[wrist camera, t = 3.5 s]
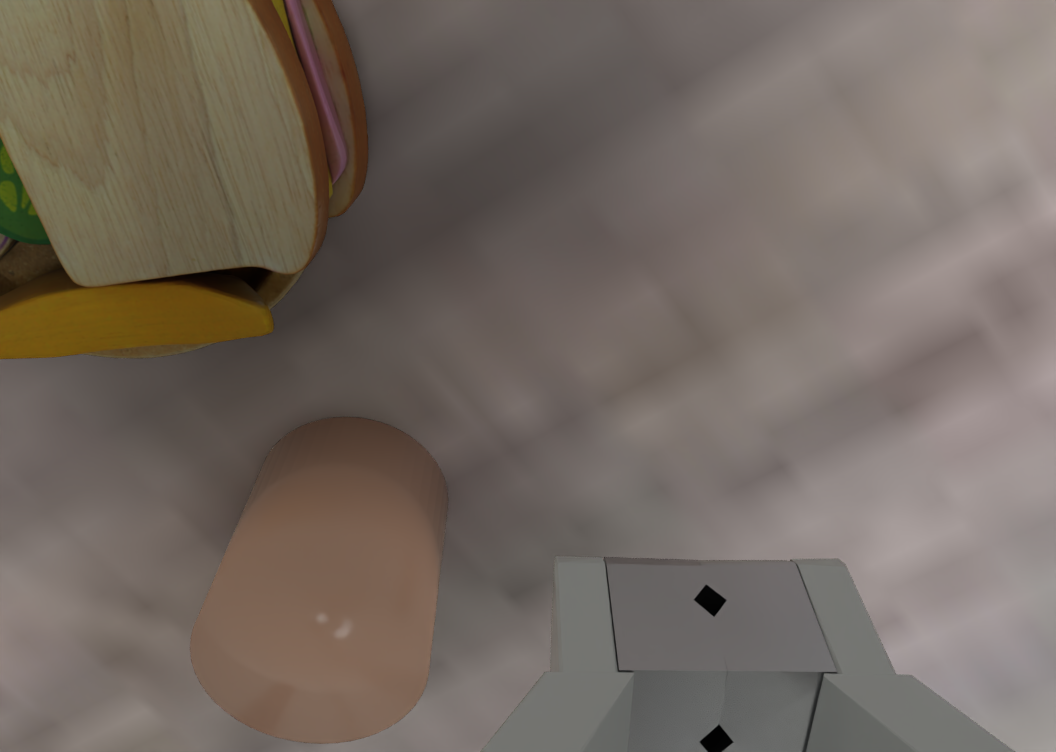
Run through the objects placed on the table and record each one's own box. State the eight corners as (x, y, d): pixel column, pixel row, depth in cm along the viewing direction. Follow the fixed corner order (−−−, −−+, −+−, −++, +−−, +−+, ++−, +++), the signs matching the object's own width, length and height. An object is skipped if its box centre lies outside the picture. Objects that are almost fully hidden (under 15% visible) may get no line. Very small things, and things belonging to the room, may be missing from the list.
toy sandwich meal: (-244, -132, 22) (-424, -128, 18) (340, -169, 22) (297, -175, 17) (-53, 351, 28) (-154, 438, 24) (405, 327, 28) (384, 411, 23)
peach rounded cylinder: (450, 572, 32) (433, 744, 26) (270, 570, 32) (208, 743, 25) (445, 417, 29) (424, 570, 23) (247, 415, 29) (171, 568, 23)
